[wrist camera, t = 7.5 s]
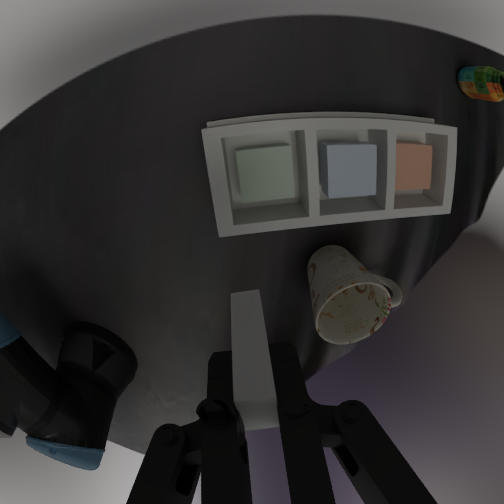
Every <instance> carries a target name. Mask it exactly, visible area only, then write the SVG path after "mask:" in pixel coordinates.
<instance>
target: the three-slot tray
mask: <svg viewBox="0 0 504 504" xmlns="http://www.w3.org/2000/svg"><path fill="white" fill-rule="evenodd" d="M201 131H202V138H203V144H204V151H205V157H206V163H207V170H208V176H209V182H210V188H211V194H212V200H213V206H214V211H215V217H216V223H217V228H218V234H219V237H226V236H234V235H242V234H251V233H259V232H268V231H276V230H285V229H294V228H303V227H312V226H321V225H331V224H341V223H350V222H360V221H371V220H381V219H392V218H403V217H414V216H426V215H438V214H450V211H451V204H452V197H453V189H454V179H455V167H456V150H457V128H456V127H451V126H446V125H441V124H436V123H434V119H430V118H423V117H415V116H406V115H396V114H383V113H366V112H300V113H282V114H269V115H258V116H248V117H240V118H232V119H225V120H218V121H211V122H207V127H206V128H204V129H201ZM345 141H366V142H370V143H373V144H376V145H377V175H376V195H367V196H352V197H339V198H328V197H327V196H326V195H325V194H324V193H323V192H322V188H321V163H320V144H319V142H345ZM396 141H410V142H422V143H425V144H428V145H432V170H431V183H430V189H411V190H395V179H396ZM278 143H288V144H289V145H291V151H292V164H293V177H294V192H295V197H293V198H283V199H274V200H265V201H256V202H247V203H242V197H241V190H240V182H239V174H238V167H237V159H236V152H235V151H236V148H240V147H249V146H257V145H267V144H278Z"/></svg>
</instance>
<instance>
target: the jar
mask: <svg viewBox="0 0 504 504" xmlns="http://www.w3.org/2000/svg"><path fill="white" fill-rule="evenodd" d="M458 83H459V86H460V88H461V90H462V91H463V92H464V93H465V94H466V95H467V96H469V97H471V98H476V99H482V100H488V101H494V102H499V101H501V100H503V99H504V72H501V71H499V70H496V69H495V68H493V67H490V66H475V67H464V68H462V69H461V70H460V71H459V74H458Z"/></svg>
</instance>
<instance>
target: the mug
mask: <svg viewBox="0 0 504 504" xmlns="http://www.w3.org/2000/svg"><path fill="white" fill-rule="evenodd" d="M307 272H308V279H309V285H310V292H311V299H312V307H313V314H314V321H315V326H316V330H317V332H318V334H319V335H320V336H321V337H322V338H323V339H324V340H326V341H328V342H330V343H334V344H349V343H354V342H357V341H360V340H362V339H364V338H366V337H368V336H369V335H371V334H372V333H374V332H375V331H376V330H377V329H378V328H379V327H380V326H381V325H382V324H383V323H384V321H385V320H386V318H387V316H388V314H389V312H390V308H391V307H396V306H398V305H399V304H400V303H401V301H402V291H401V289H400V288H399V286H398V285H397V284H396V283H394V282H393V281H391V280H390V279H388V278H385V277H382V276H379V275H376V274H372V273H370V272H369V271H368V270H367V269H366V268H365V267H364V266H363V265H362V264H361V263H360V262H359V261H358V260H357V259H356V258H355V257H354V256H353V255H352V254H351V253H350V252H349V251H347V250H346V249H345V248H343V247H341V246H338V245H328V246H325V247H322V248H320V249H319V250H317V251H316V252H315V253H314V254H313V255H312V256H311V258H310V260H309V262H308V267H307ZM382 283H383V284H385V285H386V286H388V287H389V288H390V289H391V290H392V292H393V297H392V298H391V297H390V294H389V292H388V291H387V289H386V288H385V287H384V286H383V284H382Z"/></svg>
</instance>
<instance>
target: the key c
mask: <svg viewBox="0 0 504 504" xmlns="http://www.w3.org/2000/svg"><path fill="white" fill-rule="evenodd" d="M431 170H432V145H428V144H425V143H422V142H410V141H396V179H395V190H411V189H430V183H431Z"/></svg>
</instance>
